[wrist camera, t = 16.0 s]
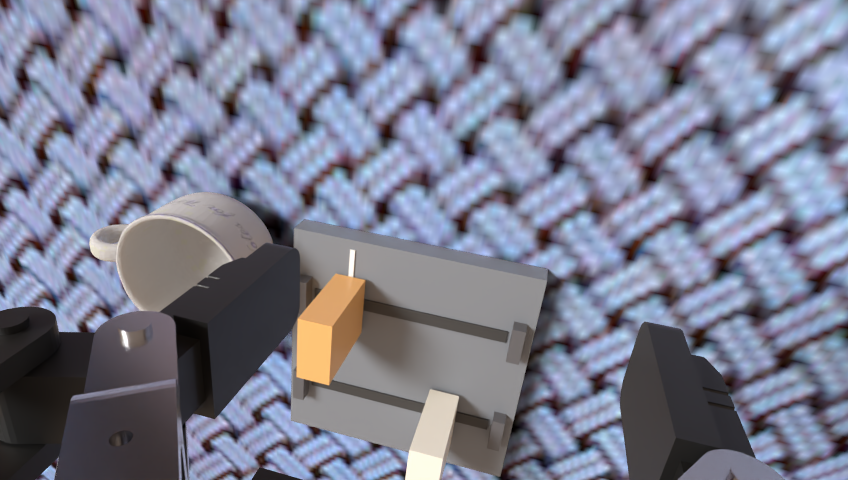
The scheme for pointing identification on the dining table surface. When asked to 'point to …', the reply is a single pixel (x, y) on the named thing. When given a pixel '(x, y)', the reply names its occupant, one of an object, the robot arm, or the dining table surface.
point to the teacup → (179, 246)
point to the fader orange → (329, 328)
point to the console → (421, 340)
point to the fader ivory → (432, 437)
